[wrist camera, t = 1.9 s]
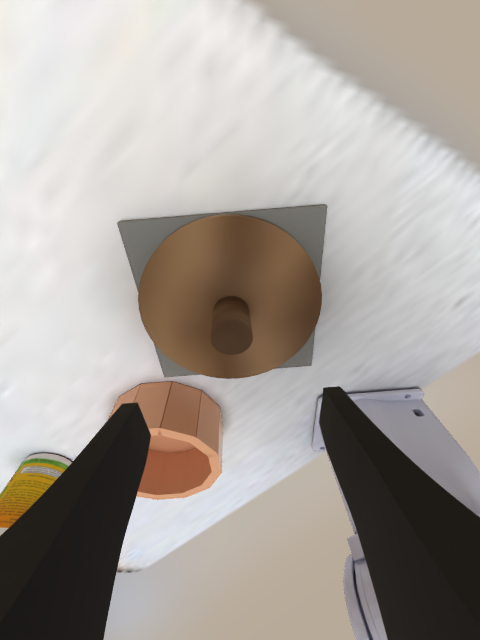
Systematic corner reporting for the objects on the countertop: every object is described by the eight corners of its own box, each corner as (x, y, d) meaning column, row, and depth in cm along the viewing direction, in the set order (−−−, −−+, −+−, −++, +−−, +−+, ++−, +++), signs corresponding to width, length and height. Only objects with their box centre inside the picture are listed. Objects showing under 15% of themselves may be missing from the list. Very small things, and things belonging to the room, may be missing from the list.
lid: (327, 205, 15) (355, 217, 11) (311, 365, 21) (326, 402, 18) (117, 222, 15) (85, 239, 11) (164, 376, 21) (152, 416, 18)
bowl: (215, 378, 22) (212, 423, 18) (226, 447, 27) (226, 494, 23) (98, 387, 22) (70, 434, 18) (132, 454, 27) (116, 502, 23)
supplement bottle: (19, 449, 26) (-81, 583, 18) (75, 453, 27) (6, 584, 18) (30, 477, 29) (-52, 605, 20) (81, 480, 29) (23, 605, 21)
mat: (324, 204, 15) (327, 205, 14) (309, 361, 21) (311, 365, 21) (120, 221, 15) (116, 222, 15) (165, 373, 21) (164, 377, 21)
